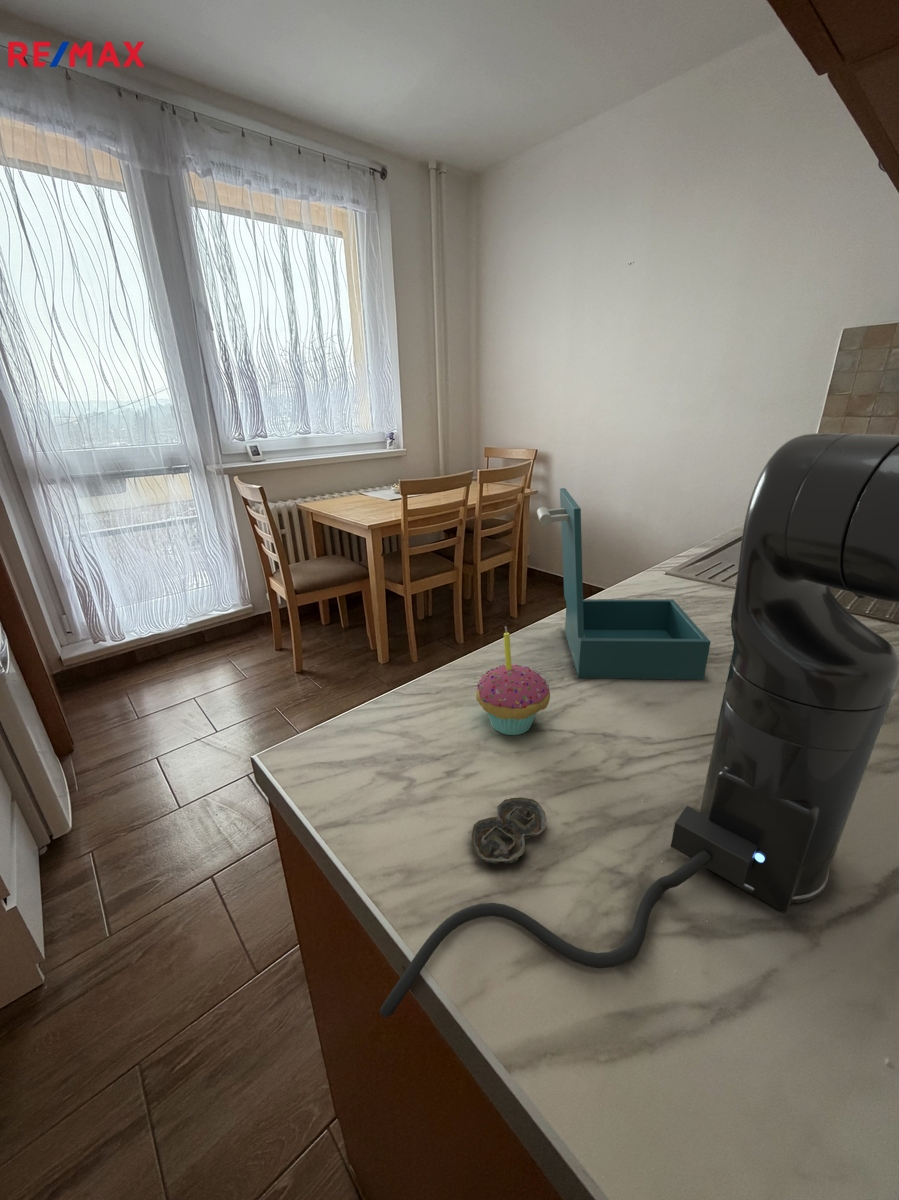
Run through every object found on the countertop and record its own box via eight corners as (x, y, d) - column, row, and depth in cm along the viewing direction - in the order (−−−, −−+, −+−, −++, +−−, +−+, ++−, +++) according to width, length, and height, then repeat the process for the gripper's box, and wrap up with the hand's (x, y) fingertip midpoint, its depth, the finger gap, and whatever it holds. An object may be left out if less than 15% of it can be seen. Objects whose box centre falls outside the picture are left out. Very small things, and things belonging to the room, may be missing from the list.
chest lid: (565, 487, 71) (533, 491, 72) (580, 508, 58) (541, 512, 58) (569, 596, 78) (540, 598, 78) (584, 637, 64) (549, 639, 65)
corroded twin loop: (558, 823, 44) (559, 815, 43) (503, 883, 39) (503, 873, 38) (514, 795, 47) (514, 787, 47) (457, 846, 42) (457, 838, 42)
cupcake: (466, 711, 60) (463, 625, 56) (527, 696, 63) (529, 612, 58) (494, 754, 53) (494, 658, 48) (562, 735, 55) (568, 642, 51)
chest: (668, 632, 78) (673, 599, 76) (703, 679, 65) (710, 641, 63) (564, 631, 80) (566, 599, 78) (578, 677, 67) (580, 640, 64)
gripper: (948, 476, 58) (822, 566, 64) (1079, 497, 45) (906, 609, 51) (980, 518, 60) (854, 603, 65) (1116, 551, 47) (944, 654, 52)
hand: (877, 606), depth 58 cm, fingers open, 8 cm apart
